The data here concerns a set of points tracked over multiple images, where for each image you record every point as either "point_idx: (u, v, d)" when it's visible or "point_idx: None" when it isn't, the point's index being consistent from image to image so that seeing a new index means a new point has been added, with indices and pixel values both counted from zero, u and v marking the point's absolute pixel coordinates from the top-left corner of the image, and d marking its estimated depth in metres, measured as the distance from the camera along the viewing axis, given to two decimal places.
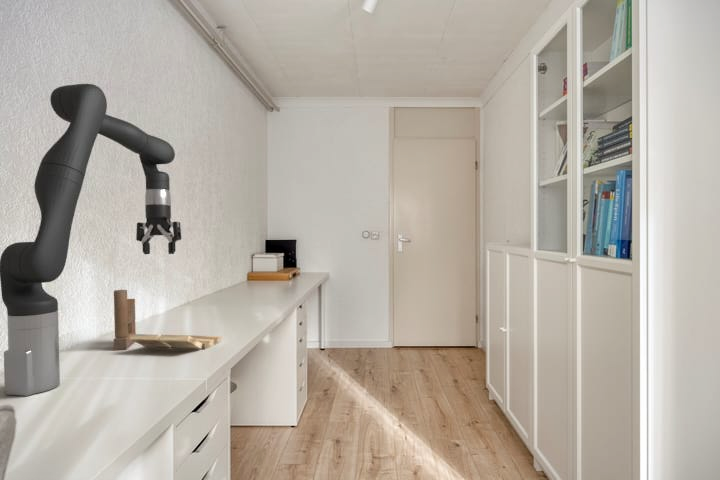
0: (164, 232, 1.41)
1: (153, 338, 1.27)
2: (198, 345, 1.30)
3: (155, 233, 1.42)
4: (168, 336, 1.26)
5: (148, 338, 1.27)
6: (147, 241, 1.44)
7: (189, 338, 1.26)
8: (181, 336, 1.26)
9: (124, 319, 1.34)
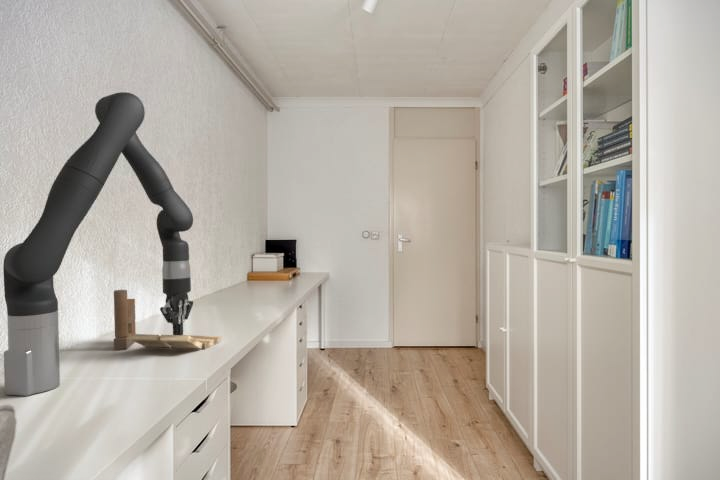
0: (185, 310, 1.28)
1: (153, 338, 1.27)
2: (198, 345, 1.30)
3: None
4: (168, 336, 1.26)
5: (148, 338, 1.27)
6: None
7: (189, 338, 1.26)
8: (181, 336, 1.26)
9: (124, 319, 1.34)
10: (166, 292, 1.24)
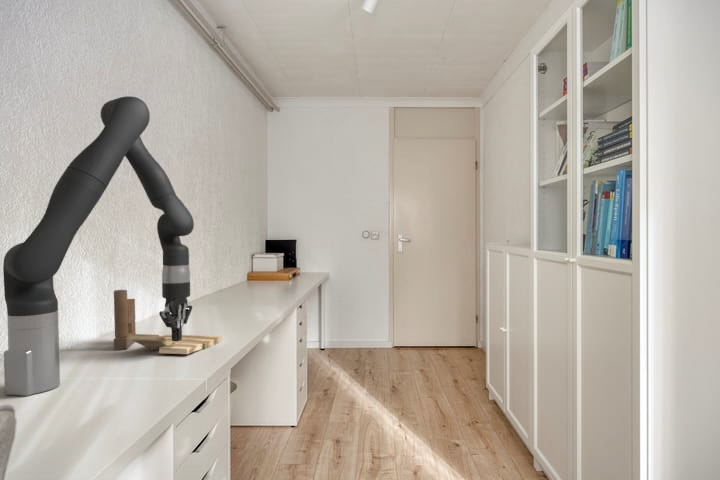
0: (184, 314, 1.28)
1: (153, 338, 1.27)
2: (199, 348, 1.30)
3: None
4: (166, 349, 1.25)
5: (148, 338, 1.27)
6: None
7: (188, 350, 1.25)
8: (179, 349, 1.25)
9: (124, 319, 1.34)
10: (165, 296, 1.24)
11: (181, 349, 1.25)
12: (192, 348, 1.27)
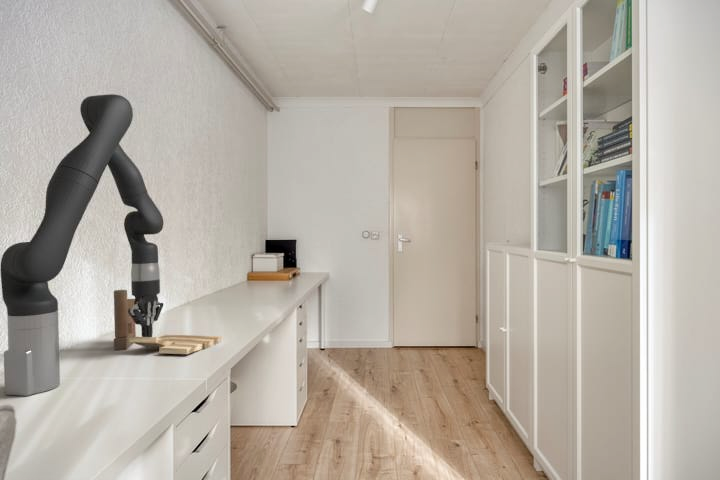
0: (154, 311, 1.30)
1: (152, 341, 1.27)
2: (199, 348, 1.30)
3: None
4: (166, 349, 1.25)
5: (147, 341, 1.27)
6: None
7: (188, 350, 1.25)
8: (179, 349, 1.25)
9: (124, 319, 1.34)
10: (134, 294, 1.26)
11: (181, 349, 1.25)
12: (192, 348, 1.27)
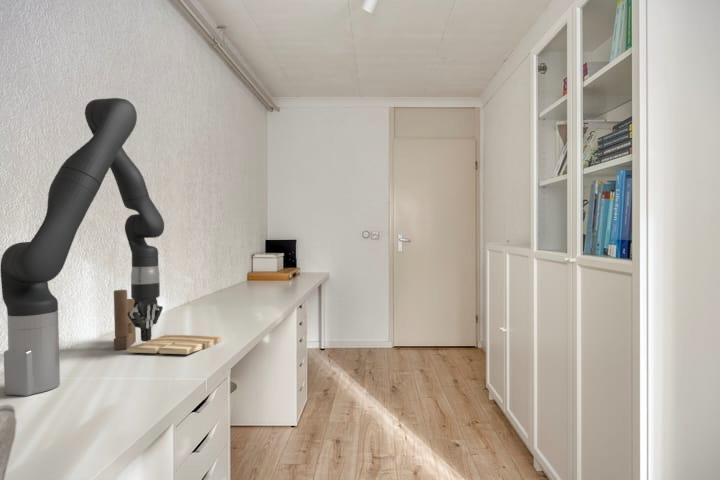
0: (153, 314, 1.30)
1: (152, 351, 1.26)
2: (199, 348, 1.30)
3: None
4: (166, 349, 1.25)
5: (147, 351, 1.27)
6: None
7: (188, 350, 1.25)
8: (179, 349, 1.25)
9: (124, 319, 1.34)
10: (134, 297, 1.26)
11: (181, 349, 1.25)
12: (192, 348, 1.27)
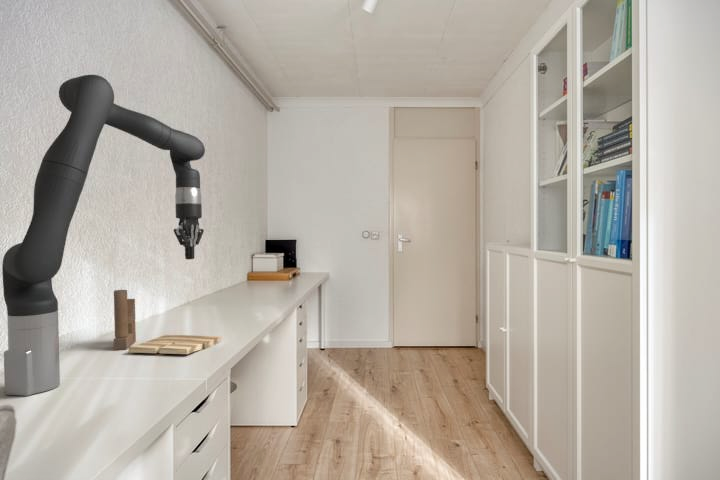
0: (196, 235, 1.37)
1: (152, 351, 1.26)
2: (199, 348, 1.30)
3: None
4: (166, 349, 1.25)
5: (147, 351, 1.27)
6: None
7: (188, 350, 1.25)
8: (179, 349, 1.25)
9: (124, 319, 1.34)
10: (179, 216, 1.32)
11: (181, 349, 1.25)
12: (192, 348, 1.27)
